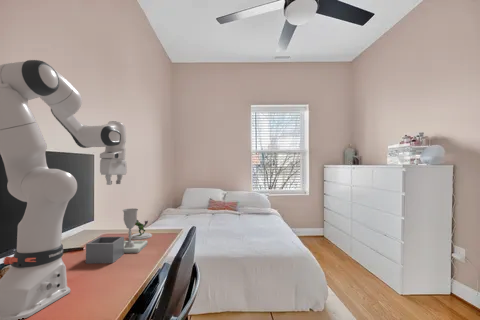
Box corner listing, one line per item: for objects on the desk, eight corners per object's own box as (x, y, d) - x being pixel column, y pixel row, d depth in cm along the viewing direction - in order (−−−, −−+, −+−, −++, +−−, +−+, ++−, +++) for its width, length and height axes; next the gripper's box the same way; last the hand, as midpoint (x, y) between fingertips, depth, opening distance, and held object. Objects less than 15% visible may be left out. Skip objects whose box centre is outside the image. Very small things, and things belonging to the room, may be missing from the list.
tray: (138, 252, 119) (138, 248, 119) (110, 253, 118) (110, 248, 118) (147, 244, 132) (147, 240, 132) (121, 244, 131) (121, 240, 131)
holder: (112, 263, 106) (113, 243, 106) (85, 263, 105) (86, 243, 105) (123, 254, 117) (124, 236, 117) (99, 254, 116) (99, 236, 116)
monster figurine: (125, 237, 146) (125, 219, 146) (144, 233, 155) (144, 216, 156) (137, 241, 139) (137, 221, 139) (156, 236, 148) (156, 218, 148)
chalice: (118, 247, 123) (119, 210, 124) (129, 243, 130) (130, 208, 130) (130, 249, 120) (130, 211, 121) (140, 245, 127) (141, 209, 127)
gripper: (118, 157, 133) (117, 183, 133) (97, 153, 113) (96, 185, 112) (130, 157, 134) (129, 183, 133) (112, 154, 113) (110, 185, 112)
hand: (113, 184), depth 122 cm, fingers open, 8 cm apart
